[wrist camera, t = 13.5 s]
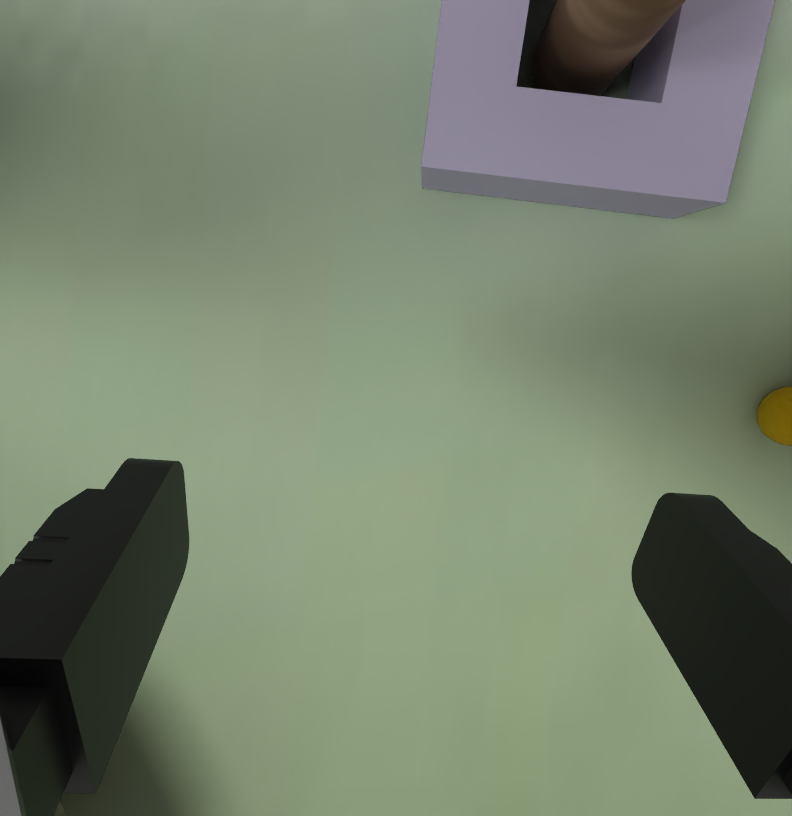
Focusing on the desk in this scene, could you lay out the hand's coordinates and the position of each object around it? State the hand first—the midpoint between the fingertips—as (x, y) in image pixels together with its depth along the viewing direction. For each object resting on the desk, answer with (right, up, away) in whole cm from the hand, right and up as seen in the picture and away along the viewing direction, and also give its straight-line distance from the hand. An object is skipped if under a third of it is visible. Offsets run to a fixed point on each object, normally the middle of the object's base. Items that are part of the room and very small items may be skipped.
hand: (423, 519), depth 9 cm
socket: (+8, +19, +17) cm, 27 cm away
